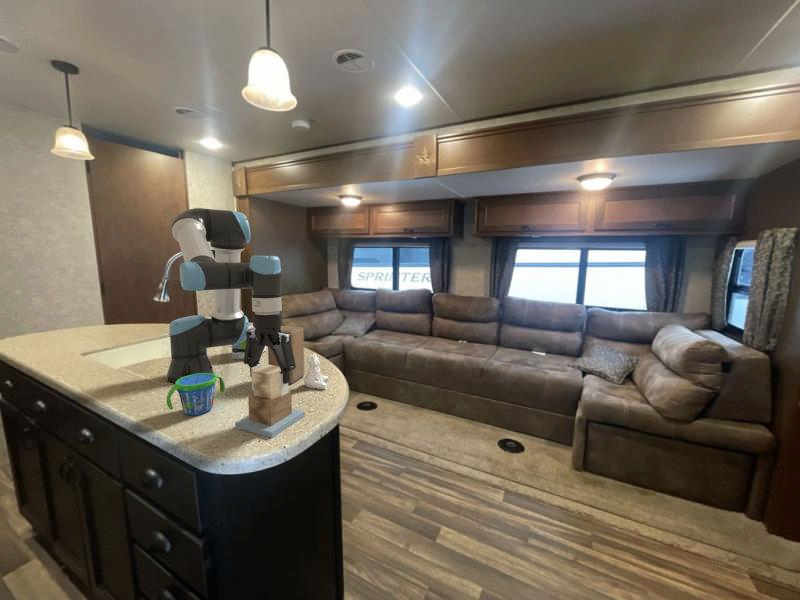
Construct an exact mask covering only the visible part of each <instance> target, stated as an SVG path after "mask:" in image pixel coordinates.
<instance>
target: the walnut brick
mask: <svg viewBox="0 0 800 600" xmlns="http://www.w3.org/2000/svg"><path fill="white" fill-rule="evenodd" d="M288 391H289V393H287V394H285V395H283V396H280V395H278V396H276V397H274V398H272V399H268V398H263V397H259V396H254V393H252V394H250V395H248V396H247V398H248V401H247V403H248V415H249V420H250V421H254V422H258V423H262V424H266V425H269V426H273V425H274V424H276V423H277V422H279V421H281V420H282V419H284V418H285V417H287V416H289V415H290V414H292V409H293V405H292V403H293V401H292V390H291V389H288Z"/></svg>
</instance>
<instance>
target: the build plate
mask: <svg viewBox="0 0 800 600" xmlns="http://www.w3.org/2000/svg"><path fill="white" fill-rule="evenodd" d="M305 415H306V414H305V411H304V410H299V409H296V408H292V414H290V415H289V416H287V417H285V418H284V419H282V420H281V421H279V422H277V423H276V424H274V425H273V426H269V425H266V424H262V423H258V422H254V421H250V420H249V414H247V416H245V417H243V418H241V419H239V420H236V422H234V427H235V429H239V430H241V431H245V432H250V433H253V434H256V435H257V434H258V435H260V436H265V437H268V438H272V439H273V438H274V437H276V436H277V435H279V434H280V433H282V432H284V431H285V430H286V429H288V428H289V427H290V426H291V427H292V425H294V424H296V423H297V422H298V421H300V420H302V419H303V418H304V417H305Z"/></svg>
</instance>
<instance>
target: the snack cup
mask: <svg viewBox="0 0 800 600" xmlns="http://www.w3.org/2000/svg"><path fill="white" fill-rule="evenodd" d="M217 379H218V380H219V392H220V393H224V392H225V390H226V385H225V381H224V379H223V378H222V377H221V376H219V375H216V374H215V373H213V374H212V373H198V374H192V375H188V376H185V377H182V378H180V379H178V380H177V381H176V383H174V385H173V386H172V387H170V389H169V391H168V394H167V395H166V405H167V407H168V409H169V410H174V407H173V404H172V399H171V398H172V395H173V394H174V393H175V392H176V391H177V392H178V396H179V398H180V405H181V407H182V411H183V413H184V415H187V416H199V415H203V414H205V413H208V412H211V411H212V409H213V407H214V400H215V388H216V382H217Z"/></svg>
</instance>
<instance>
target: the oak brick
mask: <svg viewBox="0 0 800 600" xmlns="http://www.w3.org/2000/svg"><path fill="white" fill-rule="evenodd" d="M279 372H281V369H280V367H279V366H274V365H269V364H267V365H265V366H261V368H259V369H257V370H254V371H253V387H254V390H253V394H254V396H259V397H263V398H268V399H272V398H274V397H276V396H278V395H279Z"/></svg>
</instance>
